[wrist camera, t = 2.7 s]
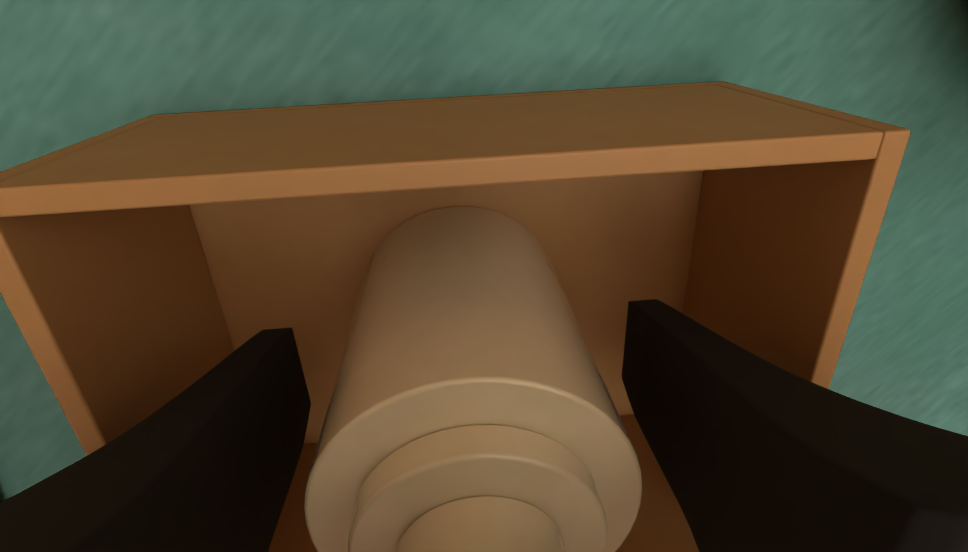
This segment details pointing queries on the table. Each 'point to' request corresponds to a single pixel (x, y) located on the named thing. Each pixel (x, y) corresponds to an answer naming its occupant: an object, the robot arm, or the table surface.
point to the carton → (429, 186)
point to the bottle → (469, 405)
